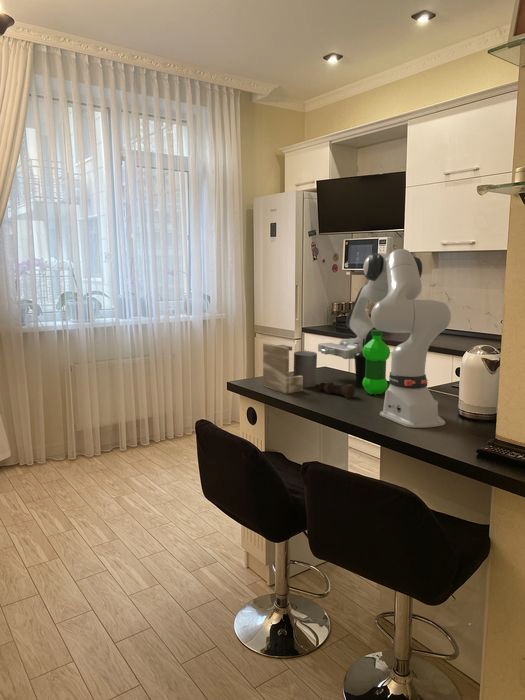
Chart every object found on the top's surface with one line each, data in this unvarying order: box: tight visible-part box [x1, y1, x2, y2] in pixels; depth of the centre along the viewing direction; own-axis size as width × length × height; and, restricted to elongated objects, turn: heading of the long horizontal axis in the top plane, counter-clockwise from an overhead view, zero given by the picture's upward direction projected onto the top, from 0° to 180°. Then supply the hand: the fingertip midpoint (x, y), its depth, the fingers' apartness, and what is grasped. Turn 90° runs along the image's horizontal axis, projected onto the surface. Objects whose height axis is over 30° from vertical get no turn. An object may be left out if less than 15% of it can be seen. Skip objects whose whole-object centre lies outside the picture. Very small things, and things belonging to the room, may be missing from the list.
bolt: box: [318, 381, 356, 399], centre depth 210 cm, size 6×5×15 cm
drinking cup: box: [354, 339, 366, 388], centre depth 222 cm, size 8×8×20 cm
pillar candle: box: [293, 349, 318, 389], centre depth 224 cm, size 10×10×15 cm
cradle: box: [262, 342, 304, 395], centre depth 218 cm, size 9×16×18 cm, turn 33°
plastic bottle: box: [363, 330, 391, 396], centre depth 210 cm, size 10×11×25 cm
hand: (323, 352), depth 229 cm, fingers closed
